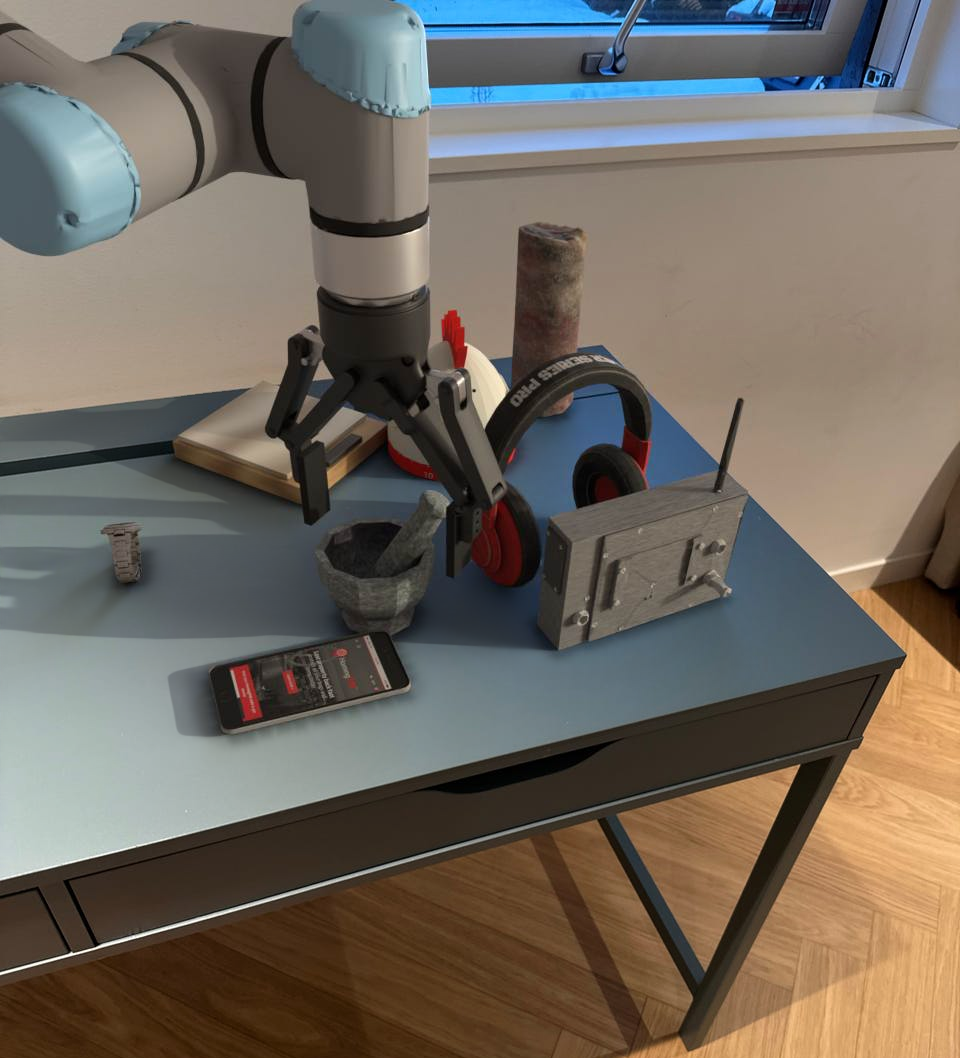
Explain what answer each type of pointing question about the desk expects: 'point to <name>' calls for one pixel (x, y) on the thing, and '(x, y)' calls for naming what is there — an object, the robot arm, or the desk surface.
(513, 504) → the headphones
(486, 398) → the kitchen timer
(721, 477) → the electronic device
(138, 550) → the wristwatch
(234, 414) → the scale
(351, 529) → the mortar and pestle
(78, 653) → the desk surface
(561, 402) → the brown stone cylinder
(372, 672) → the smartphone
